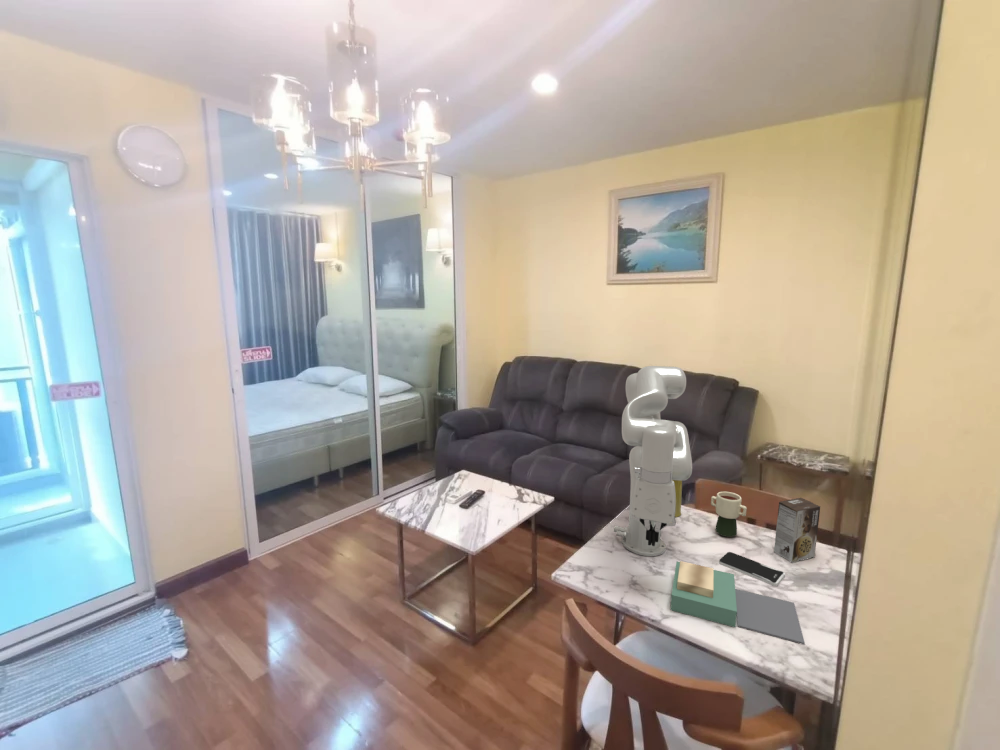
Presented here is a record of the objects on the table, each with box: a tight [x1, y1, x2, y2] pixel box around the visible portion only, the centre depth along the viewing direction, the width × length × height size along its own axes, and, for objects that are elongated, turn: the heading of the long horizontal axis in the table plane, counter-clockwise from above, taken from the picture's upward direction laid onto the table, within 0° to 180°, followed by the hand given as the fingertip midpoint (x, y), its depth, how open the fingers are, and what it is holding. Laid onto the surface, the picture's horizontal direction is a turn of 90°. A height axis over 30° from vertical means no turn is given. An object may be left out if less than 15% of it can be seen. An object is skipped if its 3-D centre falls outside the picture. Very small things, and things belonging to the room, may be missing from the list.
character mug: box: [710, 491, 748, 538], centre depth 146 cm, size 11×7×13 cm, turn 41°
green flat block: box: [670, 561, 737, 628], centre depth 115 cm, size 14×16×4 cm
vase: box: [673, 480, 683, 518], centre depth 160 cm, size 6×6×14 cm
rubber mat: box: [735, 588, 806, 645], centre depth 109 cm, size 13×15×1 cm
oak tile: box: [677, 560, 715, 598], centre depth 115 cm, size 8×10×2 cm
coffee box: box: [773, 497, 821, 563], centre depth 134 cm, size 9×6×16 cm
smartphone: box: [718, 551, 786, 587], centre depth 128 cm, size 8×1×15 cm
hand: (651, 543), depth 118 cm, fingers closed
